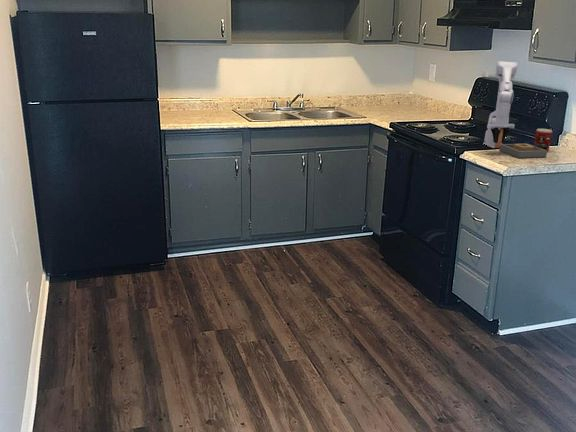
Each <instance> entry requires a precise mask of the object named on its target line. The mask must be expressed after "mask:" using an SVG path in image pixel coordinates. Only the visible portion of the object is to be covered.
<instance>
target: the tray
mask: <svg viewBox="0 0 576 432" xmlns="http://www.w3.org/2000/svg"><path fill="white" fill-rule="evenodd" d="M499 152H502V153H504V154H506V155H509V156H511V157H514V158H515V159H521V160H522V159H539V158H540V159H542V158H544V159H545V158H547V155H548V152H547V150H544V149H541V148H538V147H535V146H534V145H532V144H529V143H502V144H501V148H499Z"/></svg>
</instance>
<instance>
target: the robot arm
mask: <svg viewBox="0 0 576 432" xmlns="http://www.w3.org/2000/svg"><path fill="white" fill-rule="evenodd" d="M518 64H519V63H518V62H517V61H502V60H498V61H497V63H496V69H495V78H496V79H498V91H497V99H496V105H495V110H494V111H493V112H491V113H490V114H489V117H488V120H487V125H486V131H485V133H484V142H482V143H483V144H482V145H484V144H485V145H484V146H486V145H487V147H489V148H492V149H496V148H495V147H494V146H495V143H497V142H498V137H499V134H500V132H501V130H499V129H503V136H502V142H501V144H504V141H505V139H506V137H507V136H508V134H510V132H511V129H515V126H516V125H515V123H509V121H510V119H509V118H510V110H511V105H512V103H513V100H514V90H513V82H512V81H511V80H513V79H514V78H515V76H516V74H517V71H518Z"/></svg>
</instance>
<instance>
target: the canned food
mask: <svg viewBox="0 0 576 432" xmlns="http://www.w3.org/2000/svg"><path fill="white" fill-rule="evenodd" d="M552 136H553V130H552V129H549V128H548V129H547V128H537V129H536V130H535V136H534V142H533V146H535V147H538V148H541V149H544V150H547V153H548V152H549V151H550V146H551V140H552Z"/></svg>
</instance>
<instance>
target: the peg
mask: <svg viewBox="0 0 576 432" xmlns="http://www.w3.org/2000/svg"><path fill="white" fill-rule="evenodd" d="M499 130H501V132H500V134H499V137H498V142H497V143H495V146H494V147H495V148H494V149H500V148H501V142H502V136H503V129H499Z"/></svg>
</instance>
